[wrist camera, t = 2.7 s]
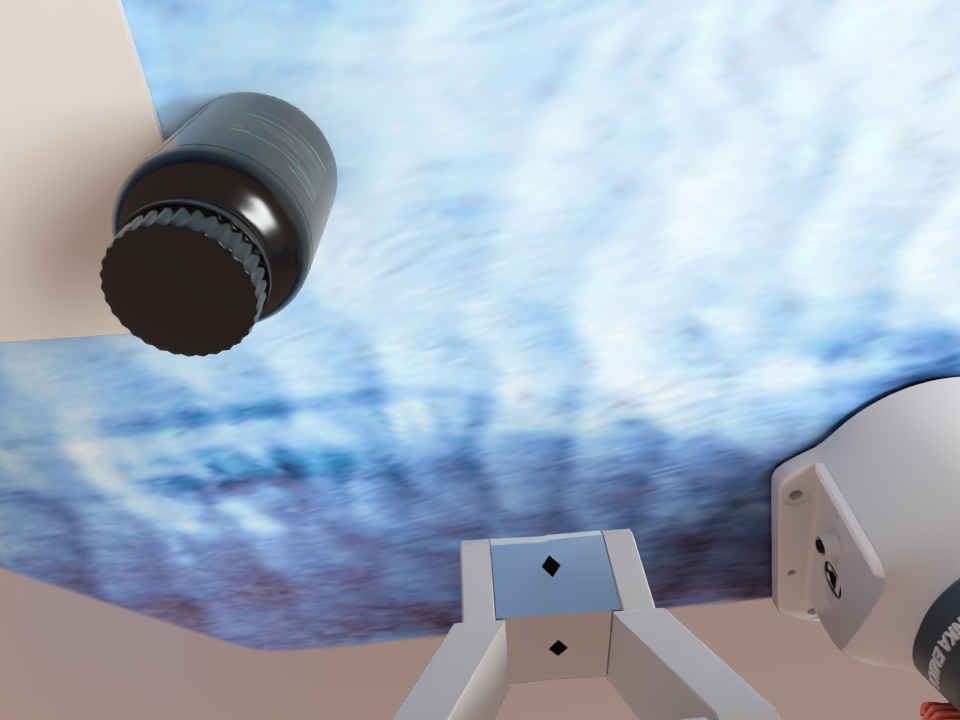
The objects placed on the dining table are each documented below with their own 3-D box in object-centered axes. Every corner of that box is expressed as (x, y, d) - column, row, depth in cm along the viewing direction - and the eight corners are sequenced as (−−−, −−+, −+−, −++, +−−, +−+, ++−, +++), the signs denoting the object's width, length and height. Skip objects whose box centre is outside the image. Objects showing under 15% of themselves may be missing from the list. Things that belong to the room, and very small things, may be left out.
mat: (223, 322, 35) (220, 327, 35) (-26, 340, 35) (-31, 344, 35) (112, -28, 26) (108, -27, 26) (-223, -6, 26) (-232, -4, 26)
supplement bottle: (259, 261, 34) (182, 413, 24) (152, 145, 30) (11, 266, 20) (369, 188, 32) (336, 320, 22) (268, 56, 28) (176, 142, 18)
